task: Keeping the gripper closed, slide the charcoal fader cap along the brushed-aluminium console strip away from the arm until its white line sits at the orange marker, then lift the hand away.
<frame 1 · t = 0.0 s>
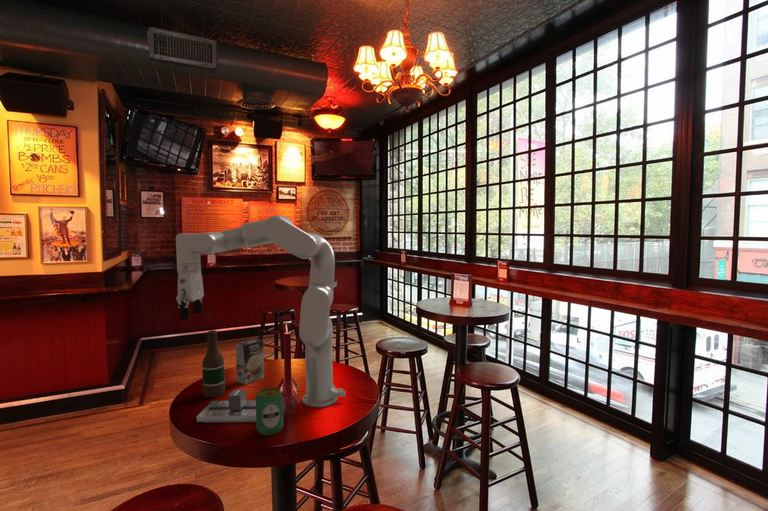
hand: (191, 316, 145), 31 cm above the table, fingers open, 9 cm apart
console: (240, 413, 137), on the table
beverage can: (270, 430, 126), on the table
fader cap: (237, 399, 137), point 5 cm above the table, slide at 0.0 cm
beer bottle: (214, 394, 154), on the table
coffee box: (250, 380, 168), on the table
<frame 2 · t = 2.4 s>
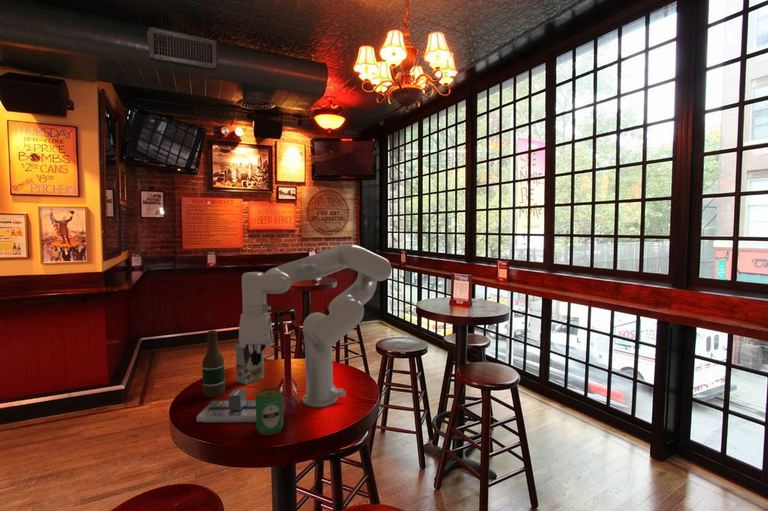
hand: (256, 364, 136), 17 cm above the table, fingers closed
nothing on the table moved.
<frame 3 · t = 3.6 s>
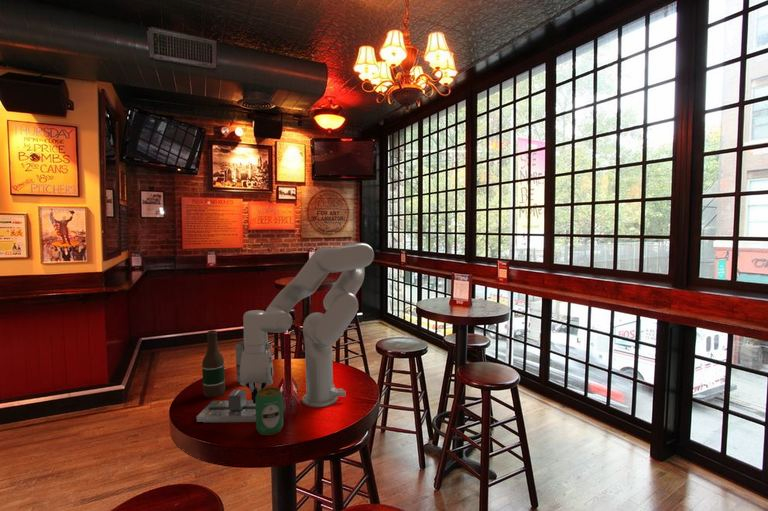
hand: (256, 401, 136), 4 cm above the table, fingers closed
nothing on the table moved.
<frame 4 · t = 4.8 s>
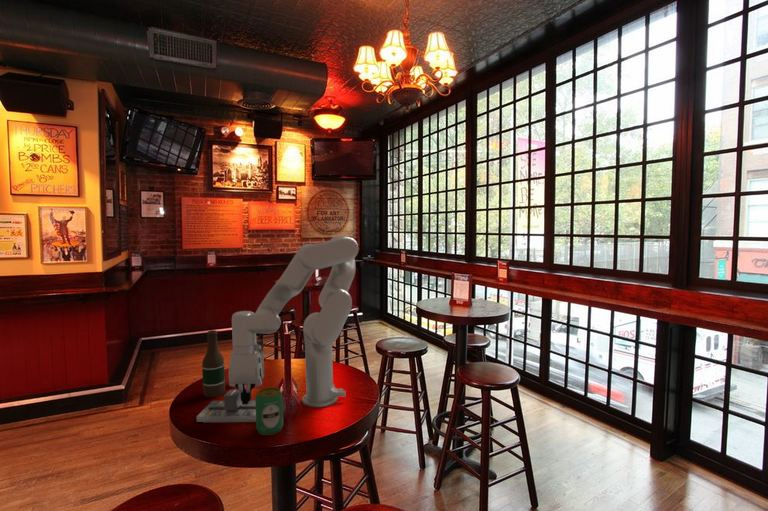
hand: (246, 402, 136), 4 cm above the table, fingers closed
fader cap: (233, 399, 137), point 5 cm above the table, slide at 1.4 cm, touching gripper
everything else where it was.
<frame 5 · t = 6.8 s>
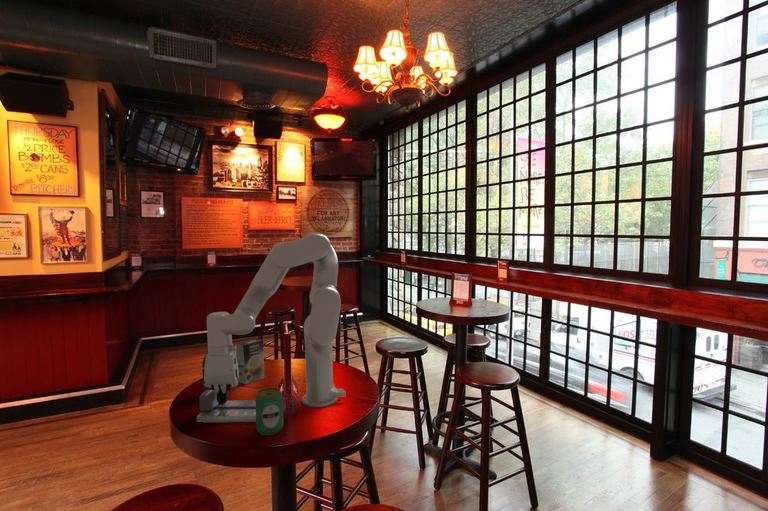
hand: (222, 403, 137), 4 cm above the table, fingers closed
fader cap: (209, 399, 137), point 5 cm above the table, slide at 9.5 cm, touching gripper
everything else where it was.
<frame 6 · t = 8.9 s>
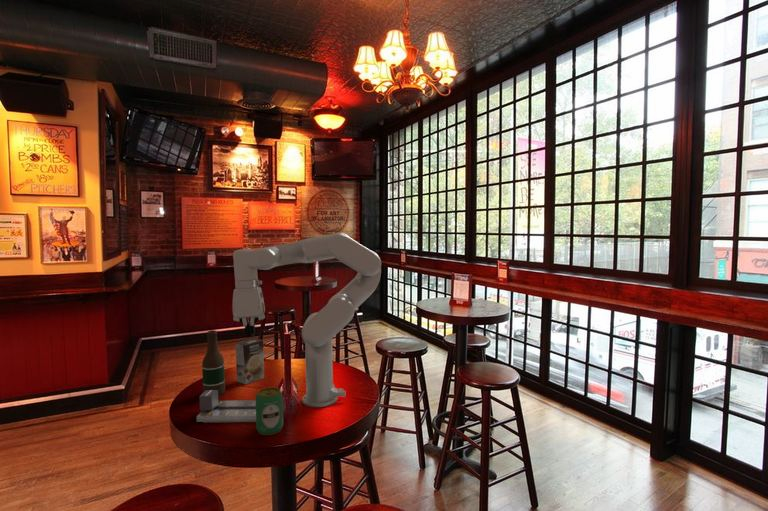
hand: (250, 336, 143), 24 cm above the table, fingers closed
fader cap: (209, 399, 137), point 5 cm above the table, slide at 9.5 cm
everything else where it was.
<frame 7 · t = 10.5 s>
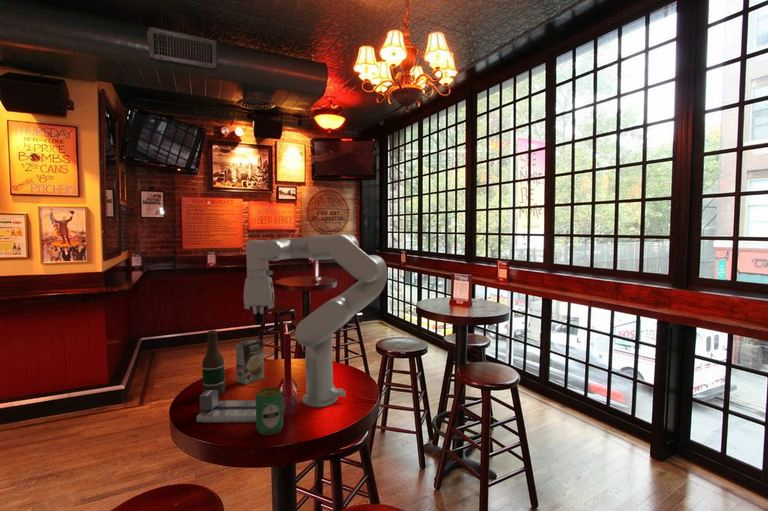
hand: (259, 324, 149), 27 cm above the table, fingers closed
nothing on the table moved.
at the end: fader cap slide at 9.5 cm; fader cap moved 9.5 cm from its start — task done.
